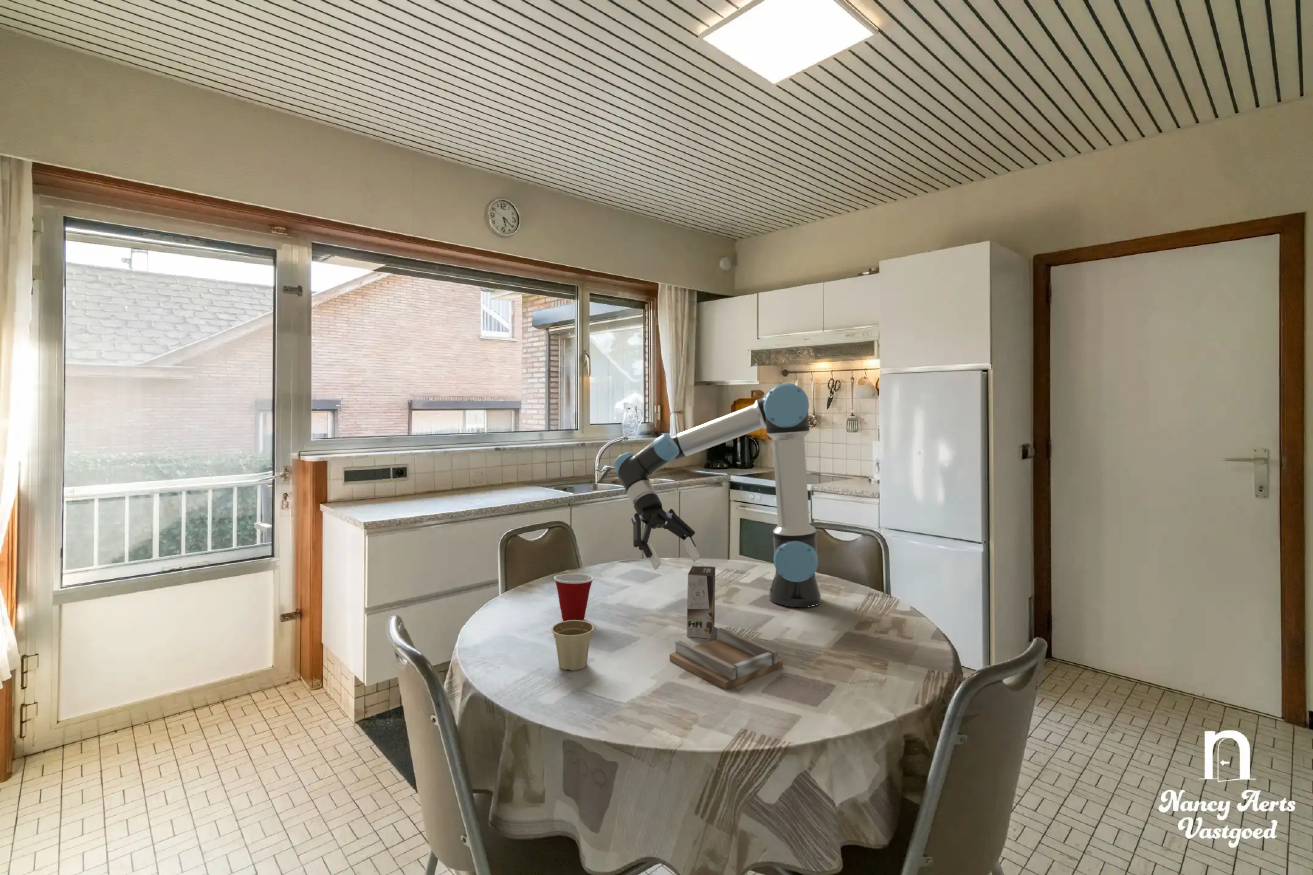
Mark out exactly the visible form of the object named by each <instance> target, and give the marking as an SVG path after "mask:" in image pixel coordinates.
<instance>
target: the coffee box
mask: <svg viewBox="0 0 1313 875" xmlns="http://www.w3.org/2000/svg"><path fill="white" fill-rule="evenodd" d="M686 602H687V605H686V606H687V607H686V608H687V610H686V611H687V612H686V614H687V615H686V617H687V618H686V637H689V638H701V639H711V638H712V635H713V632H714V629H715V625H716V624H715V622H716V621H715V620H716V619H715V615H716V606H715V605H716V566H709V565H708V566H705V565H703V566H702V565H701V566H699V565H698V566H697V565H692V566H691V568H690V570H689V571H688V574H687V601H686Z"/></svg>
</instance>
